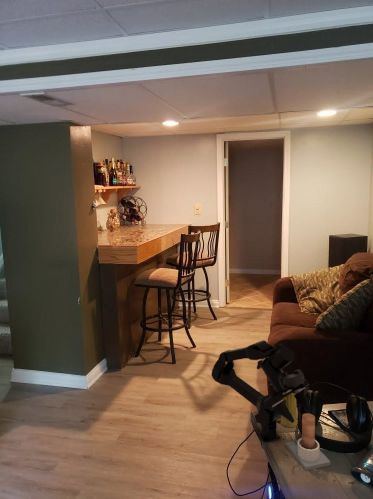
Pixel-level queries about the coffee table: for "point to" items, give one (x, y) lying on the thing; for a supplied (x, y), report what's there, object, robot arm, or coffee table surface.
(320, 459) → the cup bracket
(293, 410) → the vase
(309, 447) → the post
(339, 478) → the coffee table surface
